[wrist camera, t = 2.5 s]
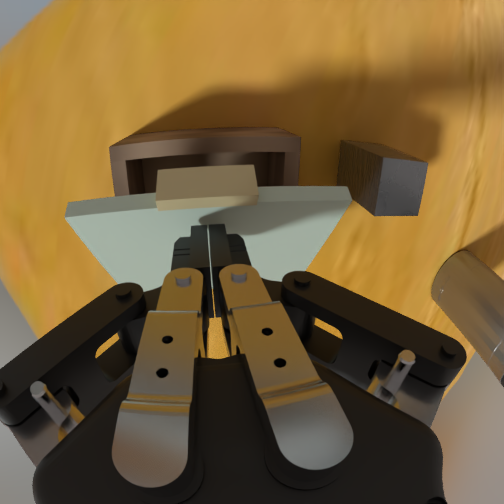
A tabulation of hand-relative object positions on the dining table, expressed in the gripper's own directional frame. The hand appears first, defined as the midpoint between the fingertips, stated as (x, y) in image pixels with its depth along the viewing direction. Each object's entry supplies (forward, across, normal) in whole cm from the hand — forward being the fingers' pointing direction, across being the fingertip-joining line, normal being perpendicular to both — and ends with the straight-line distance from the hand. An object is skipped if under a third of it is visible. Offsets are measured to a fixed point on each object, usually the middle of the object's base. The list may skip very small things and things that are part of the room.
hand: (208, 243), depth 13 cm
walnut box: (+12, 0, +1) cm, 12 cm away
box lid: (+3, 0, +1) cm, 4 cm away
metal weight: (+12, -14, -1) cm, 19 cm away
